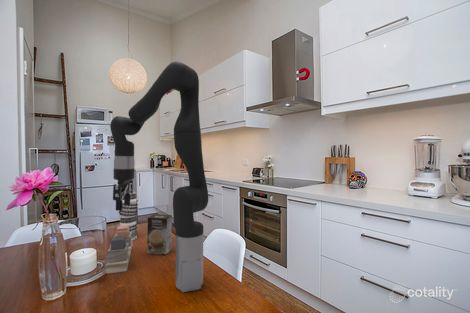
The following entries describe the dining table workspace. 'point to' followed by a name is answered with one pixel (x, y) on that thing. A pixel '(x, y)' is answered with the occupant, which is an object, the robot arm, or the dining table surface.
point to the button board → (119, 257)
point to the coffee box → (159, 234)
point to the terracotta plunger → (123, 230)
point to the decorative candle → (129, 215)
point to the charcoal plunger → (118, 243)
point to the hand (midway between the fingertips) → (123, 207)
